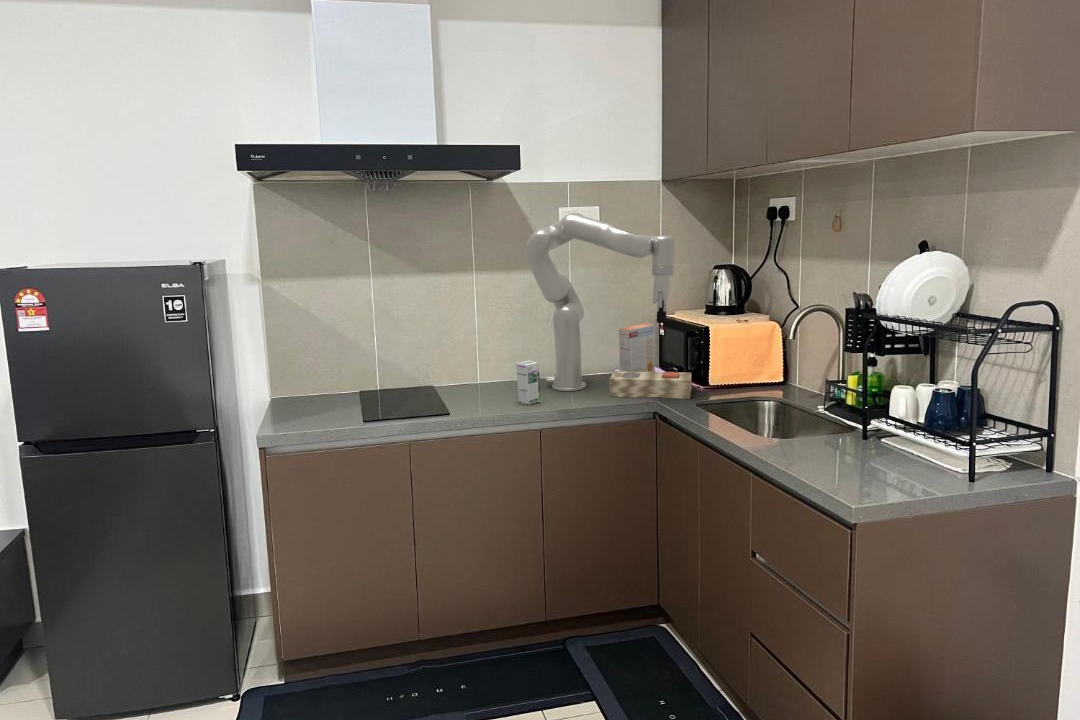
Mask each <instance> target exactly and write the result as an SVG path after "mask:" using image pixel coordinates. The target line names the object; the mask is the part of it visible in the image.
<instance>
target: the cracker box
mask: <svg viewBox="0 0 1080 720" xmlns="http://www.w3.org/2000/svg"><path fill="white" fill-rule="evenodd" d="M618 339H619V340H618V341H619V342H618V343H619V345H618V346H619V370H620V371H628V372H656V368H655V367H656V365H655V364H656V363H655V362H656V361H655V359H656V358H655V325H654V324H650V323H640V324H636V325H631V326H630V325H629V326H627V327H626V326H625V327H621V328H619V329H618Z"/></svg>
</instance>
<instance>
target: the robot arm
mask: <svg viewBox="0 0 1080 720" xmlns="http://www.w3.org/2000/svg"><path fill="white" fill-rule="evenodd" d="M573 240H578V241H581V242H584V243H589V244H591V245H594V246H599V247H601V248H603V249H607V250H610V251H614V252H617V253H620V254H622V255H627V256H629V257H633V258H638V259H642V258H643V259H644V258H645V257H647V256H649V255H650V256H652V259H651V261H652V263H651V275H652V276H654V279H653V290H652V291H653V292H652V293H653V294H652V303H653V304H657V305H656V307H657V308H656V323H658V324H665V323H666V322H667V304H668V302H669V300H670V292H671V291H670V290H671V277H673V276H674V272H675V271H674V266H675V238H674V236H671V235H657V236H656V235H649V234H639V235H637V234H633V233H629V232H627V231H624V230H622V229H621V230H620V229H618V228H616V227H614V225H612V224H610V223H608V222H605V221H601V220H597V219H594V218H591V217H588V216H584V215H583V214H582V213H579V212H571V213H568V214H566V215H564V217H563V218H562V219H560V220H558V221H556V222H554V223H553V224H550V225H548V226H546V227H542V228H540V229H537V230H535V231H534V232H533V233H532V234H531V235H530V236H529V238H528V240H527V242H526V245H525V248H524V249H525V253H524V254H525V258H526V260H525V261H526V262H527V264H528V267H529V269H530V271H531V274H532V275H533V277H534V280H535V281H536V283H537V285H538V287H539V289H540V291H541V292H540V293H541V294H542V295H543V297H544V299H545V300H546V301H547V302H548V303H553V305H554V306H555V310H554V313H553V317H552V324H553V331H554V333H553V334H554V347H555V348H554V349H555V352H554V353H555V375H553V376H551V375H546V376H545V377H544V379H545V380H544V381H545V382H547V383H552V388H553V389H554V390H556V391H561V392H574V391H581V390H583V389H585V388H586V387H587V384H586V382H584V381H583V380H582V379H583V378H582V377H583V375H582V343H581V342H582V341H581V330H580V329H581V328H580V323H581V321H582V320H583V318H584V314H585V313H584V312H585V310H584V306H583V304H582V303H581V302H582V301H580V298H579V296H578V294H577V293H576V290H575V289H574V287H573V284H572V283H571V281H570V280H569V278H567V277H566V276H565V275H563V274H559V272H558V270H557V268H556V265H555V263H554V261H553V260H552V259H551V257H550V253H549V252H551V251H552V250H555V249H558V248H559V247H561V246H562V245H563V246H564V245H565V244H567V243H568V242H570V241H573Z"/></svg>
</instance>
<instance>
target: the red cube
mask: <svg viewBox="0 0 1080 720" xmlns="http://www.w3.org/2000/svg"><path fill="white" fill-rule="evenodd" d="M663 372H664V373H663V378H679V372H678V371H663Z"/></svg>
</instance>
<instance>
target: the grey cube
mask: <svg viewBox="0 0 1080 720" xmlns="http://www.w3.org/2000/svg"><path fill="white" fill-rule="evenodd" d="M623 377H634V378H639V374H624V376H623Z"/></svg>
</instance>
